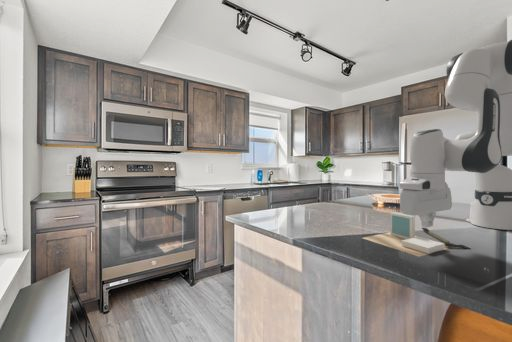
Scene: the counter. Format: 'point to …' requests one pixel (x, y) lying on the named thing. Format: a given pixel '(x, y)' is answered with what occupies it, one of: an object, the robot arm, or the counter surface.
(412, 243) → the tile near
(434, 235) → the tomahawk
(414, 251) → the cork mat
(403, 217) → the tile far
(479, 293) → the counter surface
